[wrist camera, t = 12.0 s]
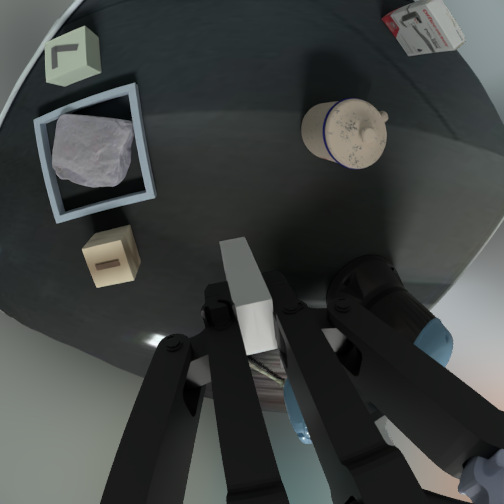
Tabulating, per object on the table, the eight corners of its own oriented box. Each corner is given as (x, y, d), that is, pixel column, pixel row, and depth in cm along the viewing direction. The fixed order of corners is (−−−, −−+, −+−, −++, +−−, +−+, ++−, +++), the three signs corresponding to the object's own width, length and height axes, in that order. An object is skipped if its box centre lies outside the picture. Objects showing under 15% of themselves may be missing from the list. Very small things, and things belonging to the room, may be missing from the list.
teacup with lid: (313, 170, 41) (352, 186, 30) (288, 115, 37) (322, 112, 26) (374, 139, 40) (423, 148, 30) (354, 87, 36) (401, 81, 26)
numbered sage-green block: (101, 72, 29) (86, 64, 24) (64, 86, 28) (45, 82, 23) (98, 37, 27) (84, 25, 21) (62, 51, 26) (44, 43, 20)
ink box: (379, 18, 31) (424, 1, 21) (393, 9, 30) (437, -7, 20) (408, 58, 35) (456, 51, 24) (421, 47, 34) (467, 40, 23)
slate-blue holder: (156, 194, 38) (155, 197, 36) (61, 219, 36) (56, 223, 34) (137, 84, 31) (134, 82, 29) (40, 119, 29) (33, 120, 28)
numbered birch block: (141, 260, 42) (134, 281, 36) (106, 268, 41) (96, 288, 36) (130, 224, 39) (120, 240, 34) (95, 233, 38) (81, 249, 33)
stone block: (130, 182, 38) (140, 115, 33) (120, 195, 34) (129, 121, 29) (62, 172, 36) (66, 109, 30) (48, 184, 32) (50, 115, 26)
